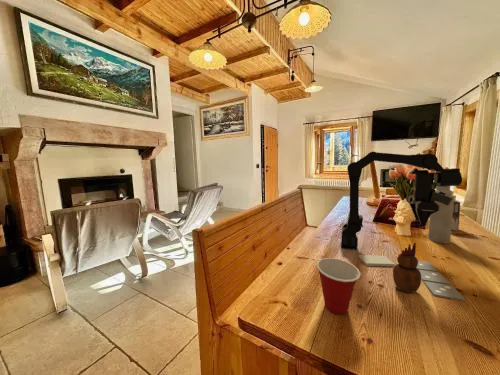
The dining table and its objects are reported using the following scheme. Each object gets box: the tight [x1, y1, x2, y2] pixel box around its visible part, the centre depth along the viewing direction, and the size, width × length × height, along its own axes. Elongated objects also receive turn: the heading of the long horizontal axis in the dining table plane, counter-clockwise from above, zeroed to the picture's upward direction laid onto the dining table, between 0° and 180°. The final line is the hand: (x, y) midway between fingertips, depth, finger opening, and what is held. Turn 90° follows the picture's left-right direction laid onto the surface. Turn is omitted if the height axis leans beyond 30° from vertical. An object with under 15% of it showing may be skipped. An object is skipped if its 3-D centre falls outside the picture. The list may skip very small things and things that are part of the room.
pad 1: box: [416, 260, 439, 272], centre depth 75 cm, size 7×7×1 cm
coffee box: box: [451, 200, 461, 232], centre depth 115 cm, size 9×6×16 cm
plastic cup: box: [316, 257, 362, 316], centre depth 54 cm, size 11×11×12 cm
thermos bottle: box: [427, 184, 455, 244], centre depth 98 cm, size 8×8×28 cm
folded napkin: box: [358, 254, 396, 268], centre depth 80 cm, size 10×7×1 cm
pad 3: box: [423, 281, 466, 302], centre depth 61 cm, size 7×7×1 cm
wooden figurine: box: [392, 242, 422, 293], centre depth 61 cm, size 7×6×15 cm
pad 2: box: [419, 270, 451, 285], centre depth 68 cm, size 7×7×1 cm
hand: (420, 223), depth 82 cm, fingers open, 9 cm apart
